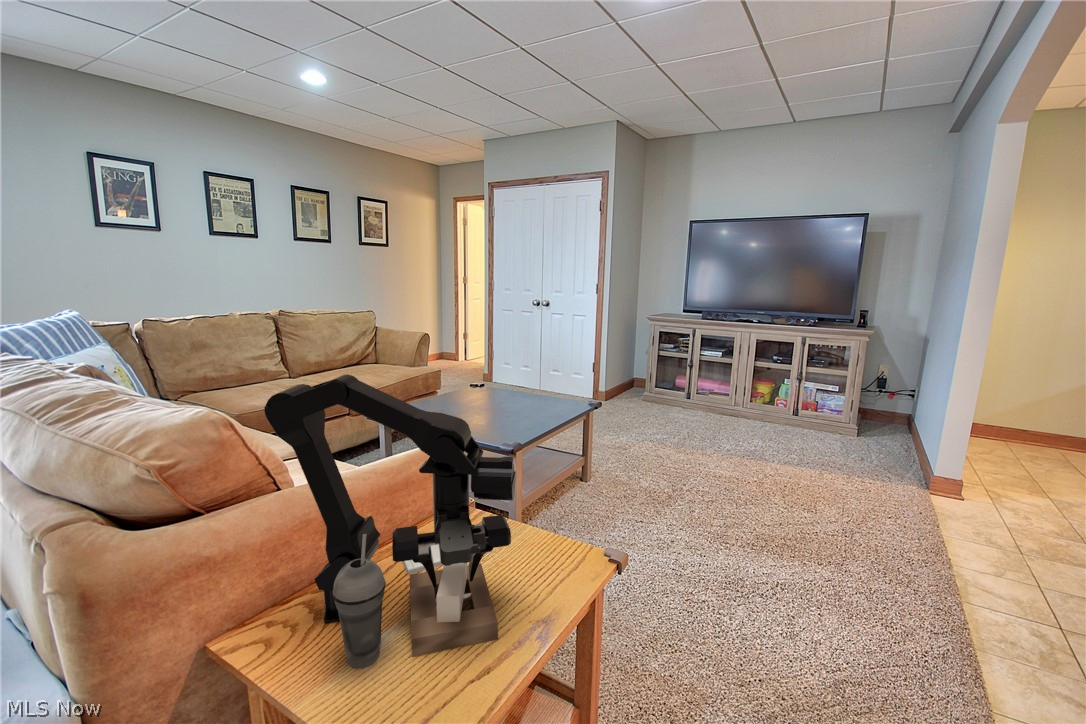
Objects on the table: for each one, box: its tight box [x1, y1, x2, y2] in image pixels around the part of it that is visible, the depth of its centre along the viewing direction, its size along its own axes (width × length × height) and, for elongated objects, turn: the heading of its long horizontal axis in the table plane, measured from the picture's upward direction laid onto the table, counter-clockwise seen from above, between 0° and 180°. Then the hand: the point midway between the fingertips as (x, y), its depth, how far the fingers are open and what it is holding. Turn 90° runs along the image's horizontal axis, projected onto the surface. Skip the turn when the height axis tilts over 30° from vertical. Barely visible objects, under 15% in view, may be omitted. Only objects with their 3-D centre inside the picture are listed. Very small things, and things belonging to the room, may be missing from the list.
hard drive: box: [402, 545, 444, 575], centre depth 98 cm, size 2×8×12 cm
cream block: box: [436, 563, 468, 622], centre depth 80 cm, size 4×12×4 cm, turn 3°
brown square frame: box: [409, 563, 499, 658], centre depth 81 cm, size 13×16×3 cm
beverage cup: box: [332, 534, 387, 670], centre depth 70 cm, size 7×7×20 cm
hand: (453, 583), depth 80 cm, fingers open, 6 cm apart
